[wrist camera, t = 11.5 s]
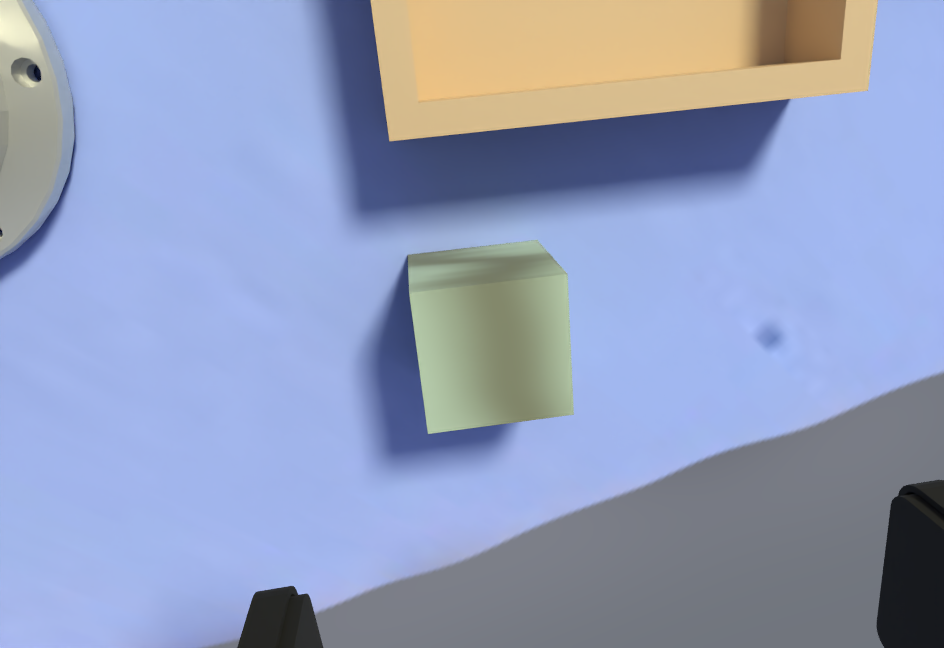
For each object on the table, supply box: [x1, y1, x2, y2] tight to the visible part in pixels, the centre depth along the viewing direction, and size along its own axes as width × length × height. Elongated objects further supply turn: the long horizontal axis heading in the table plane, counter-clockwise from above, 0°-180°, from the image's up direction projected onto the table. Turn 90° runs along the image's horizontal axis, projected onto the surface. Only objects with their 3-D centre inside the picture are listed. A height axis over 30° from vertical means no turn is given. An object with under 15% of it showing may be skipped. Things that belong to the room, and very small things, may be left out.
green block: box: [408, 240, 574, 434], centre depth 24 cm, size 5×5×5 cm
